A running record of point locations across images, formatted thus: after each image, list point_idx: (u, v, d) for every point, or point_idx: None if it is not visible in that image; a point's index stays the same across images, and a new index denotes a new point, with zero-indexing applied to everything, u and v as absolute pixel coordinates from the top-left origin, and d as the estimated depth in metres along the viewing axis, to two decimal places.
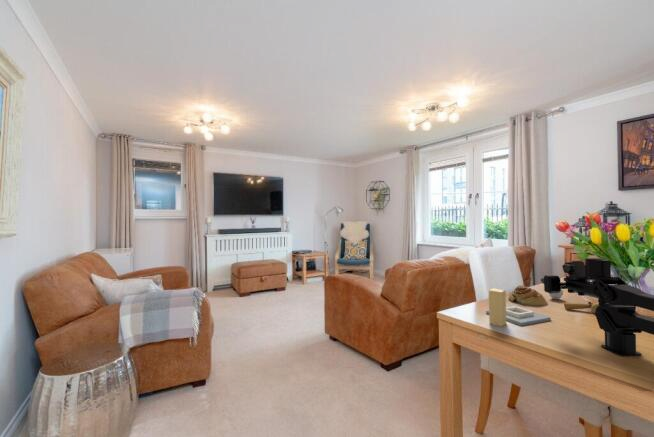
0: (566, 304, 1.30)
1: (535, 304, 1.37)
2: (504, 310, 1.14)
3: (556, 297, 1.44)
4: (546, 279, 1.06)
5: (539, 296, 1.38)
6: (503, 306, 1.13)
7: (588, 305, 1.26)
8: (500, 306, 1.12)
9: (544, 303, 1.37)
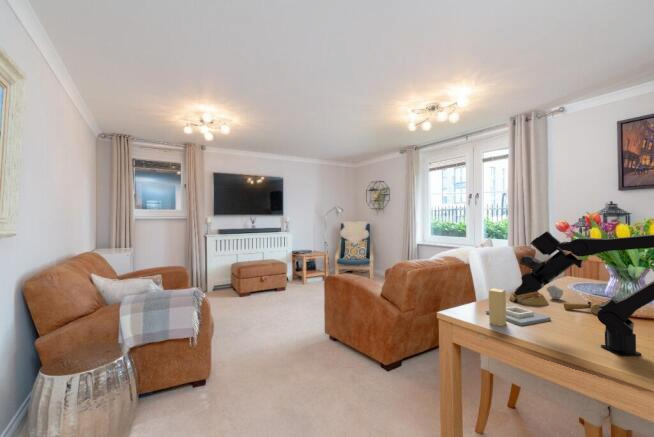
0: (565, 304, 1.30)
1: (536, 304, 1.36)
2: (504, 310, 1.14)
3: (556, 297, 1.44)
4: (526, 277, 1.00)
5: (540, 296, 1.38)
6: (503, 306, 1.13)
7: (587, 305, 1.26)
8: (500, 306, 1.12)
9: (545, 303, 1.37)
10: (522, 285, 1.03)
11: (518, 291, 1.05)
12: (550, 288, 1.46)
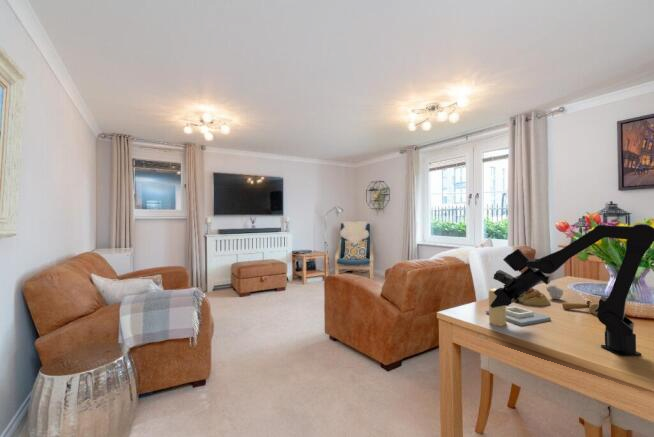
0: (564, 304, 1.30)
1: (538, 304, 1.36)
2: (504, 310, 1.14)
3: (556, 297, 1.44)
4: (498, 293, 1.06)
5: (542, 296, 1.38)
6: None
7: (586, 305, 1.27)
8: (500, 306, 1.12)
9: (547, 303, 1.36)
10: (497, 298, 1.11)
11: (493, 304, 1.13)
12: (550, 288, 1.46)
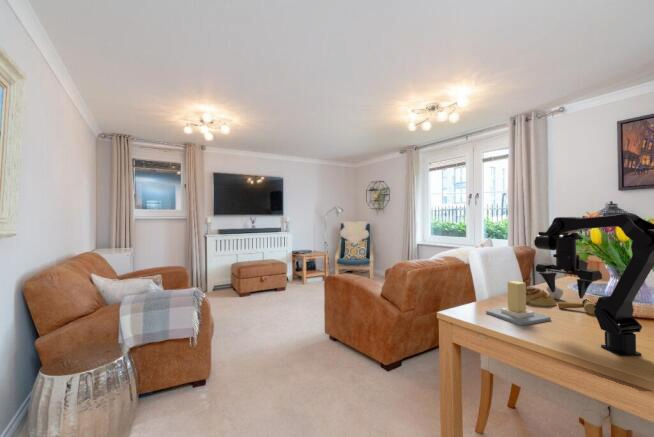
0: (559, 303, 1.31)
1: (545, 305, 1.35)
2: (522, 301, 1.20)
3: (556, 297, 1.44)
4: None
5: (548, 297, 1.37)
6: (521, 297, 1.20)
7: (581, 304, 1.27)
8: (516, 297, 1.20)
9: (553, 304, 1.35)
10: None
11: None
12: None
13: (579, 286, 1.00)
